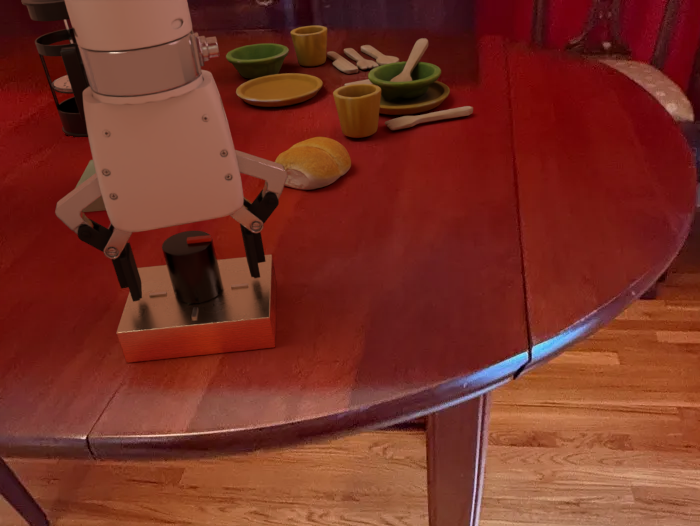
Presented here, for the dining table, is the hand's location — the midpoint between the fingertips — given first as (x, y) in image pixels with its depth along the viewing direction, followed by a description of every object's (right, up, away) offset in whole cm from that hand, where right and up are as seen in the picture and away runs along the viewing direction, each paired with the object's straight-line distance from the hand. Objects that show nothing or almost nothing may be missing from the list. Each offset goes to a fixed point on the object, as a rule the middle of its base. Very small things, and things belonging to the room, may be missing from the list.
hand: (196, 281), depth 60 cm
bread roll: (+8, +15, +25) cm, 30 cm away
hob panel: (0, -3, +2) cm, 4 cm away
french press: (-24, +27, +43) cm, 56 cm away
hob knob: (0, -1, +1) cm, 1 cm away
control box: (-13, +14, +25) cm, 31 cm away
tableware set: (+9, +34, +47) cm, 59 cm away
